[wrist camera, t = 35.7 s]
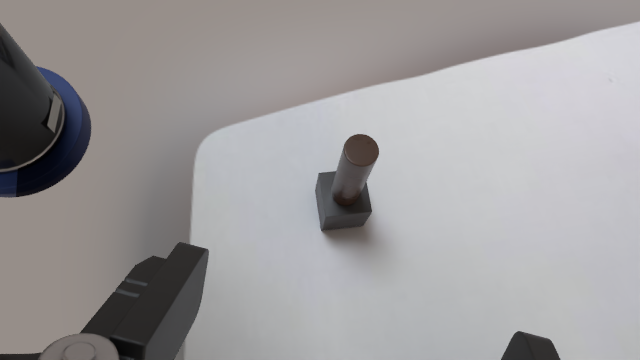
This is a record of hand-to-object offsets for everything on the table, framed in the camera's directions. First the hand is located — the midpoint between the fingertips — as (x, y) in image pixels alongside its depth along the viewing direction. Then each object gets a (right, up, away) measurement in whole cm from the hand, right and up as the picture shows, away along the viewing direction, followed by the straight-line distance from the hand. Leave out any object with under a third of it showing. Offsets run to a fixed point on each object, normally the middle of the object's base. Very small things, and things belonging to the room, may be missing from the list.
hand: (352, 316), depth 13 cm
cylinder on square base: (+1, +1, +29) cm, 29 cm away
